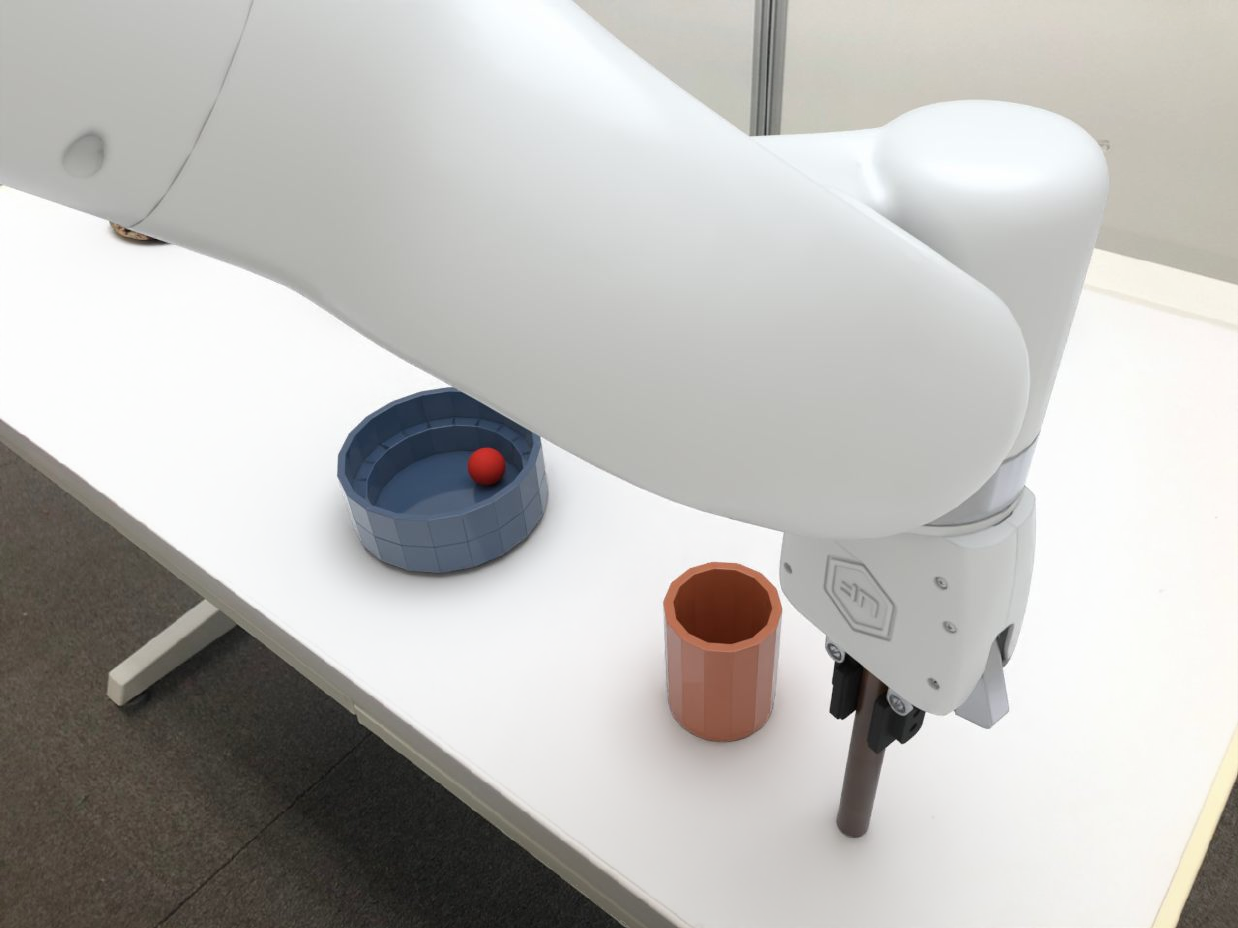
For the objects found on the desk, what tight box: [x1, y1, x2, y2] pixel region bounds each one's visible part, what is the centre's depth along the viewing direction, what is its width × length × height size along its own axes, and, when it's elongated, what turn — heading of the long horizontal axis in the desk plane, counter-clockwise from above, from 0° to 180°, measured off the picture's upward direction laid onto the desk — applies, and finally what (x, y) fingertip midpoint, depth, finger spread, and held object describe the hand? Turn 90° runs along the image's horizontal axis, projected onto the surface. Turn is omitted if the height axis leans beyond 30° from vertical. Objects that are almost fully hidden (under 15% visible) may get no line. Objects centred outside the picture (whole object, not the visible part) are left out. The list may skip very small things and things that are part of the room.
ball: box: [468, 448, 506, 485], centre depth 79 cm, size 3×3×3 cm
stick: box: [836, 667, 889, 838], centre depth 52 cm, size 2×2×16 cm
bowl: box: [336, 386, 549, 574], centre depth 77 cm, size 15×15×6 cm
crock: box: [662, 561, 783, 743], centre depth 61 cm, size 7×7×9 cm
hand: (873, 716), depth 50 cm, fingers closed on stick, 1 cm apart
